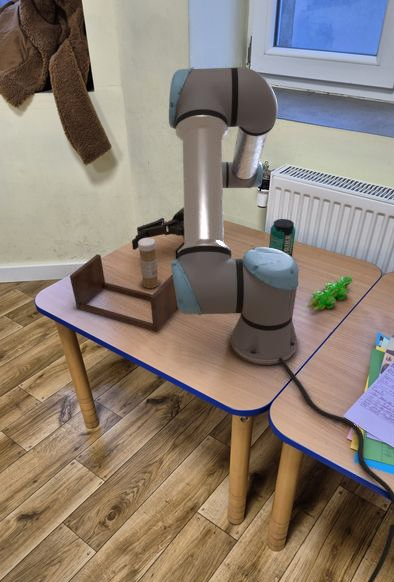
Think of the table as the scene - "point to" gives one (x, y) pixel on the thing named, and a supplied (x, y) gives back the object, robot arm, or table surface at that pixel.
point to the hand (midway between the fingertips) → (154, 250)
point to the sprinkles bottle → (148, 262)
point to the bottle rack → (92, 282)
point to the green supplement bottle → (282, 236)
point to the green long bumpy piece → (331, 293)
